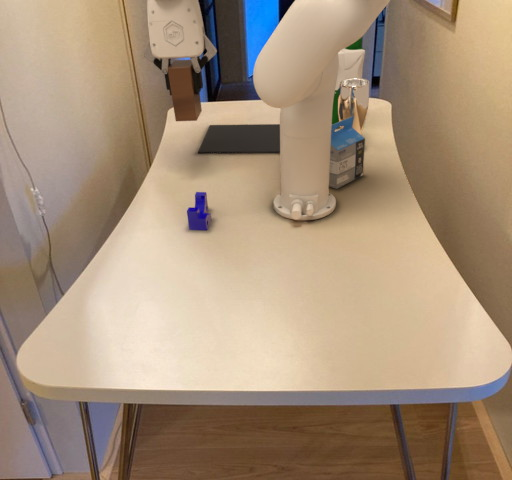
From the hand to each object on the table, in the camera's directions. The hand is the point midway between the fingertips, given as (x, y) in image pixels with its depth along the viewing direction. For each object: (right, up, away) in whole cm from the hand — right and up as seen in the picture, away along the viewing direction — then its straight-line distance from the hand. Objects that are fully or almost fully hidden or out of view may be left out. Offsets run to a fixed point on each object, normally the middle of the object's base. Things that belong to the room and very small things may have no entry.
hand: (185, 91), depth 111 cm
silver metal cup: (+37, -4, +22) cm, 43 cm away
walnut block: (0, -4, +3) cm, 5 cm away
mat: (+12, +1, +29) cm, 32 cm away
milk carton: (+37, +8, +35) cm, 52 cm away
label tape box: (+33, -15, +9) cm, 38 cm away
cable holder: (+4, -26, -1) cm, 27 cm away
